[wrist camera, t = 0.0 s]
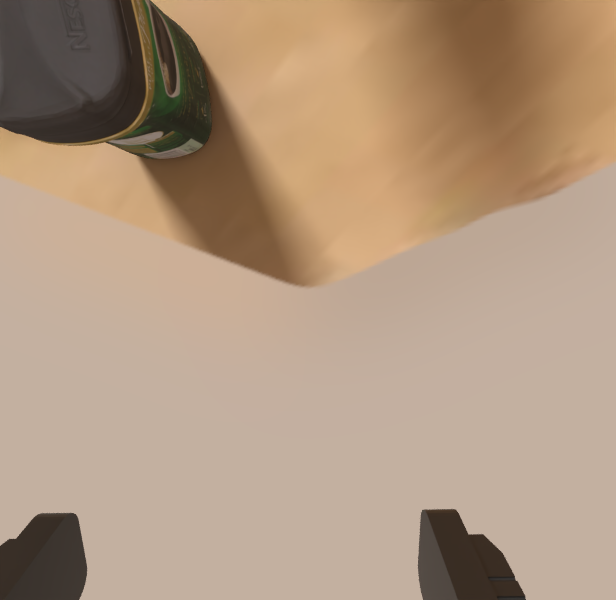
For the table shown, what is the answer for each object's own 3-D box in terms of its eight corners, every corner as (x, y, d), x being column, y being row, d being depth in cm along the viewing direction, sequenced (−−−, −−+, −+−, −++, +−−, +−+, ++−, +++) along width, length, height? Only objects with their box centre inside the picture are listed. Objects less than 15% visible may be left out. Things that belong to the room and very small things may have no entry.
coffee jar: (98, 39, 34) (-144, -130, 16) (198, 22, 33) (68, -170, 15) (129, 167, 36) (-50, 149, 18) (222, 153, 36) (134, 120, 18)
